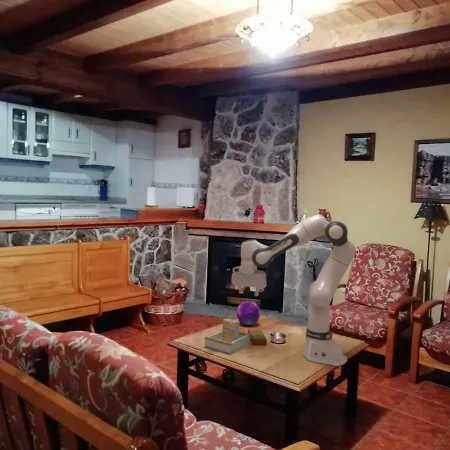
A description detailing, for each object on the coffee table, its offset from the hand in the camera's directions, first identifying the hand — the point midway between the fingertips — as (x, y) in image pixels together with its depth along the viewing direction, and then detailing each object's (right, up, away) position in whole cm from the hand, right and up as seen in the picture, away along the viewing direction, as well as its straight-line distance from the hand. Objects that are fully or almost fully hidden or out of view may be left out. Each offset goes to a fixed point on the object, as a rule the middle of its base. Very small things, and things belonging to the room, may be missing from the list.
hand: (248, 294), depth 241 cm
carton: (+5, -28, +11) cm, 31 cm away
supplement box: (-10, -27, +1) cm, 29 cm away
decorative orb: (+2, -26, +39) cm, 47 cm away
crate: (-12, -28, 0) cm, 30 cm away
